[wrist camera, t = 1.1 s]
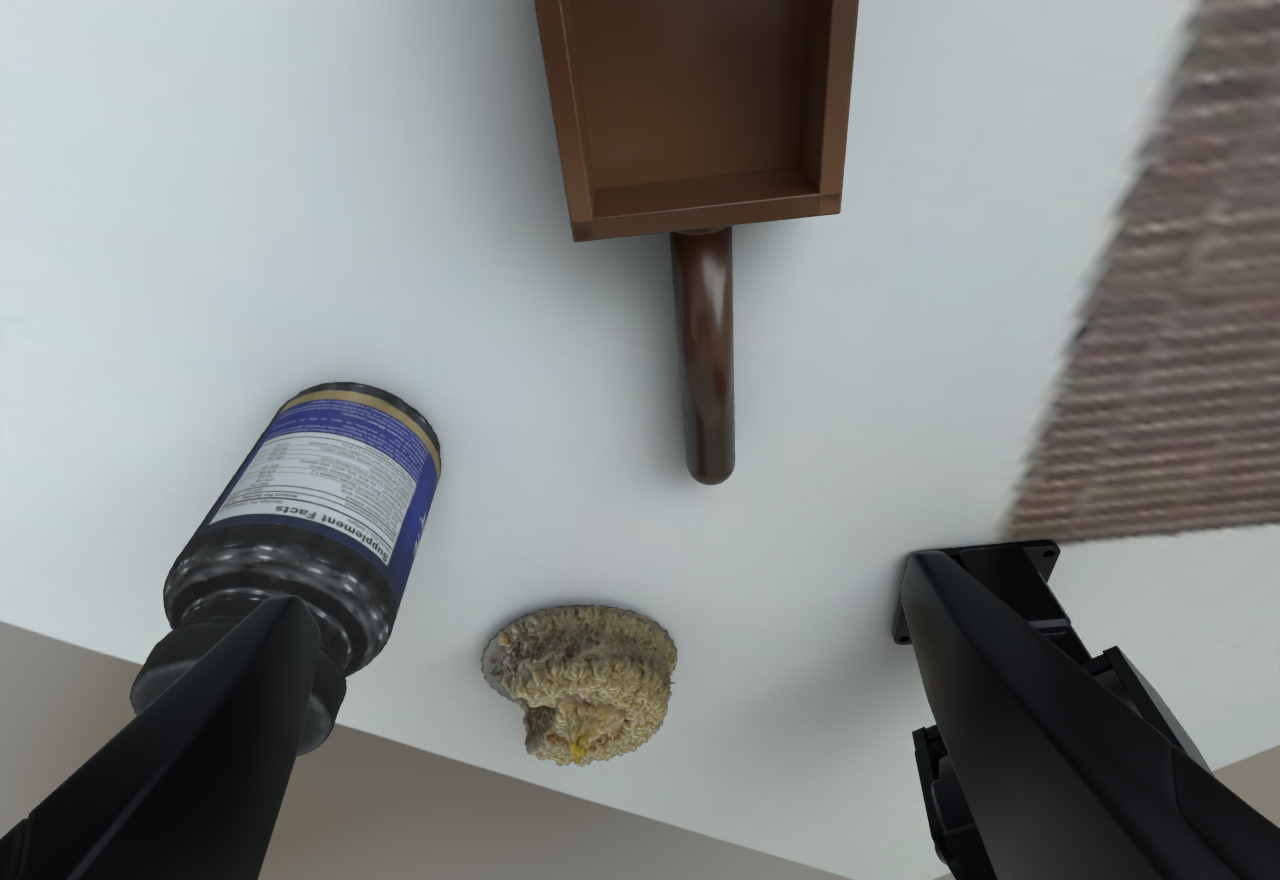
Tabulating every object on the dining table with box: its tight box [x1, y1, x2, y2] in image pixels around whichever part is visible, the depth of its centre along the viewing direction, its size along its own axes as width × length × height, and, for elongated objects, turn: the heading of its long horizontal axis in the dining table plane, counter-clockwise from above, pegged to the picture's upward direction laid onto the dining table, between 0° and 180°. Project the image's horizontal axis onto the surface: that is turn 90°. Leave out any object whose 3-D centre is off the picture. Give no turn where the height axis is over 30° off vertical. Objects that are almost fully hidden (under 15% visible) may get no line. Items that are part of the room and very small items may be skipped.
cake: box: [481, 604, 677, 766], centre depth 32 cm, size 10×10×5 cm
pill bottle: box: [130, 382, 441, 757], centre depth 21 cm, size 6×6×11 cm
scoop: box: [534, 0, 859, 485], centre depth 19 cm, size 18×7×3 cm, turn 6°
